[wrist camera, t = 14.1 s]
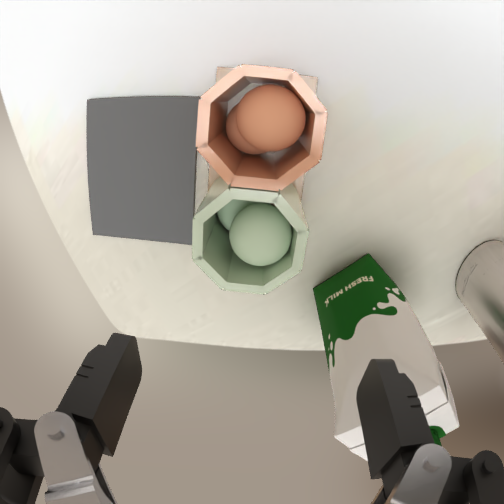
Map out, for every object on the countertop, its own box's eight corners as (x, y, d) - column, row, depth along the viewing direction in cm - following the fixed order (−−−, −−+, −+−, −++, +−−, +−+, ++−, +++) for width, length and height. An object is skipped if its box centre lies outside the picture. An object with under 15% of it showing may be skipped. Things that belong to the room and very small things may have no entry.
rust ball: (291, 97, 24) (279, 110, 20) (286, 147, 27) (273, 168, 23) (238, 90, 24) (217, 102, 21) (236, 138, 27) (216, 158, 24)
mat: (200, 97, 25) (199, 97, 25) (193, 242, 32) (192, 244, 31) (90, 99, 25) (87, 99, 25) (95, 232, 32) (93, 234, 31)
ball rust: (268, 115, 23) (311, 85, 20) (278, 167, 22) (326, 141, 19) (219, 99, 20) (261, 61, 17) (225, 155, 20) (273, 120, 16)
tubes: (316, 77, 24) (341, 68, 16) (292, 245, 32) (301, 304, 23) (218, 67, 24) (194, 53, 16) (206, 236, 31) (185, 292, 23)
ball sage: (258, 186, 25) (309, 210, 23) (250, 234, 27) (295, 260, 25) (219, 204, 21) (275, 234, 20) (213, 257, 24) (262, 288, 22)
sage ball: (280, 182, 27) (263, 193, 23) (274, 230, 29) (256, 249, 25) (232, 173, 29) (208, 182, 25) (229, 219, 31) (205, 235, 27)
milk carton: (341, 335, 37) (375, 491, 19) (300, 285, 34) (322, 464, 16) (405, 297, 34) (475, 444, 16) (371, 240, 31) (459, 401, 13)
